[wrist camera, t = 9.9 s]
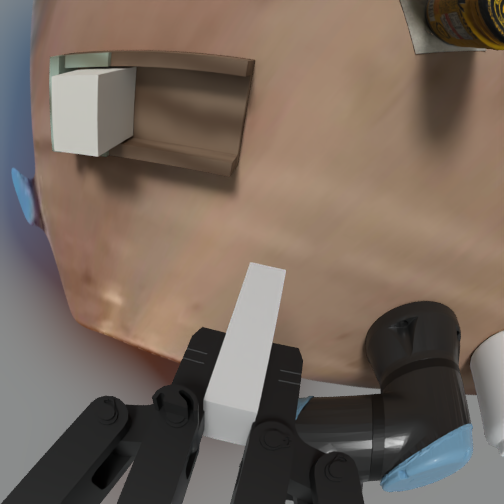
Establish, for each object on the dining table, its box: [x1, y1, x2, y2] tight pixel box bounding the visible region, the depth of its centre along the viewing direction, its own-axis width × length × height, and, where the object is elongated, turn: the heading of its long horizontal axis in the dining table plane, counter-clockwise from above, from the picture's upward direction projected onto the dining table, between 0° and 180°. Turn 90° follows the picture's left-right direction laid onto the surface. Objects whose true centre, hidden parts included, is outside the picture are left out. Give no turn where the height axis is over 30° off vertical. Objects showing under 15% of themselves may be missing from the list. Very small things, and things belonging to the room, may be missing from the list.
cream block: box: [51, 66, 137, 157], centre depth 28 cm, size 8×6×7 cm
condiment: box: [400, 0, 504, 54], centre depth 16 cm, size 7×8×12 cm
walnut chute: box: [49, 50, 255, 177], centre depth 30 cm, size 12×22×4 cm, turn 81°
